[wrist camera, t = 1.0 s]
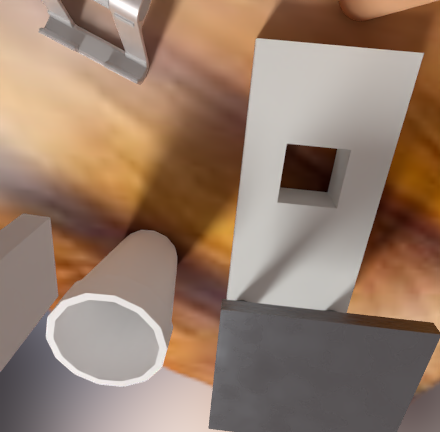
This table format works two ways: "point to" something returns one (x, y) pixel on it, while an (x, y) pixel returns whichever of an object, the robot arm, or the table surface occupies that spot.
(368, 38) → the table surface
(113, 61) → the portable electronic device stand
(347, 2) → the peg
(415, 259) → the table surface
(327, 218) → the board
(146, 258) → the foam cup
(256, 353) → the dark grey l-shaped piece
